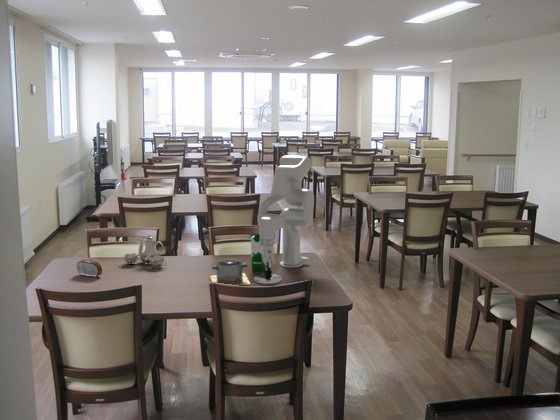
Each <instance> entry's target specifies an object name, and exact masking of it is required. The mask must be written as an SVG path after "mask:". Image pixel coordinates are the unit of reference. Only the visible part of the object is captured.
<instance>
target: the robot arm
mask: <svg viewBox="0 0 560 420" xmlns="http://www.w3.org/2000/svg"><path fill="white" fill-rule="evenodd" d="M311 167H312V161H311V159H310V157H309V156H305V155H283V156H281V157H280V158H279V165H278V166H276V168H275V171H274V175H273V179H272V180H273V181H272V184H271V190H270V191H271V192H270V193H269V195H267V196H266V197H265V198H264V199H263V201H262V202H261V203H260V206H259V208H258V212H257V225H258V226H259V233H260V245H261V246H262V261H263V263H264V271H263V274H264V276H265V278H272V274H273V272H272V265H275V264H276V263H275V247H274V246H275V245H276V244H275V243H276V234H275V233H276V231H277V230H281V229H282V261H280V263H279V266H281V267H283V268H288V269H289V268H290V269H291V268H292V269H293V268H294V269H295V268H300V267H303V265H304V262H308V261H309V260H310V259H309V257H305V256H301V233H300V230H299V227H301V228H309V227H311V226H312V223H313V221H314V220H313V218H314V206H315V195H314V192H313V191H312V190H311V189H308V188H303V187H302V184H303V182H302V181H303V179H304V178H305V176H307V174H308V173H309V171H310V169H311ZM282 200H284V202H285V204H286V205H288V206H292V207H287V208H286V207H285V208H284V209H282V210H281V212H280V214H276V213H269V212H268V211H269V208H270V207H271V206H272V205H273V204H275V203H277V202H279V201H282ZM293 207H295V208H293ZM296 207H302V208H296ZM265 268H266V270H265Z"/></svg>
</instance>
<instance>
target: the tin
mask: <svg viewBox="0 0 560 420" xmlns="http://www.w3.org/2000/svg"><path fill="white" fill-rule="evenodd" d="M76 269H77V272H78V274H80V273H84V274H89V275H96V276H98V275H100V276H101V275H102V273H103V267H102V266H101V264H100V263H99V262H98V261H96V260H88V259H81V260H80V261H78V262H77V264H76ZM98 277H99V276H98Z"/></svg>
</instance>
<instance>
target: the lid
mask: <svg viewBox="0 0 560 420" xmlns="http://www.w3.org/2000/svg"><path fill="white" fill-rule="evenodd" d="M265 270H266V268H265ZM282 279H283V277H282V276H281V275H279V274H276V273H272V278H265V276H264V273H261V274H257V275H255V276H254V277H253V282H254V283H256V284H259V283H260V285H275V284H279V283H281V282H282V281H283V280H282Z"/></svg>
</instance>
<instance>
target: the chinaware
mask: <svg viewBox="0 0 560 420" xmlns="http://www.w3.org/2000/svg"><path fill="white" fill-rule="evenodd" d="M156 240H157V239H156V238H154V237H153V236H152V235H150V234H148V236H147V237H146V238H144V239H141V238H138V241H139V247H138V254H137V253H136V252H134V253H125V255H124V254H123V255H122V257H123V259H124V261H125V262H126V263H127V264H129V263H130V264H132V263H134V264H135V263H136V262H137V260H138V257H139V258H140V260H141V262H143V264H144V263H147V264H152V265H151V266H153V268H154V267H156V268H155V269H160V268H162V267H163V266H164V267H165V266H166V265H168V264H167V260H166V259H165V256H161V255H162V252H163V251H164V245H163V243H162V242H161V241H156ZM143 241H144V242H143ZM144 243H145V245H144ZM158 244H160V245H161V250H160V251H158V250H157V247H156V245H158ZM144 246H145V247H144ZM164 262H165V264H164V265H163V263H164ZM159 267H160V268H159Z"/></svg>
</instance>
